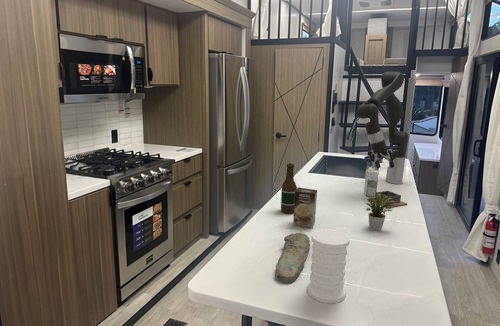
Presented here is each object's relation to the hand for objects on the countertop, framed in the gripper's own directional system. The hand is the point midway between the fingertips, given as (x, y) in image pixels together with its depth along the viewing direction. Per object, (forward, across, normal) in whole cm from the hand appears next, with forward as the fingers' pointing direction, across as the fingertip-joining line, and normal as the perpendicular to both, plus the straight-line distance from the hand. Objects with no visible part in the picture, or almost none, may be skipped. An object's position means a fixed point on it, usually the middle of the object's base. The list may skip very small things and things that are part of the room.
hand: (385, 167), depth 193 cm
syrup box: (+15, +13, +5) cm, 20 cm away
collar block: (+17, -1, +8) cm, 19 cm away
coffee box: (-2, -2, +65) cm, 65 cm away
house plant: (+10, -21, +44) cm, 50 cm away
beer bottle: (-4, +14, +60) cm, 62 cm away
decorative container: (-1, -45, +95) cm, 105 cm away
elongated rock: (-4, -24, +89) cm, 93 cm away
